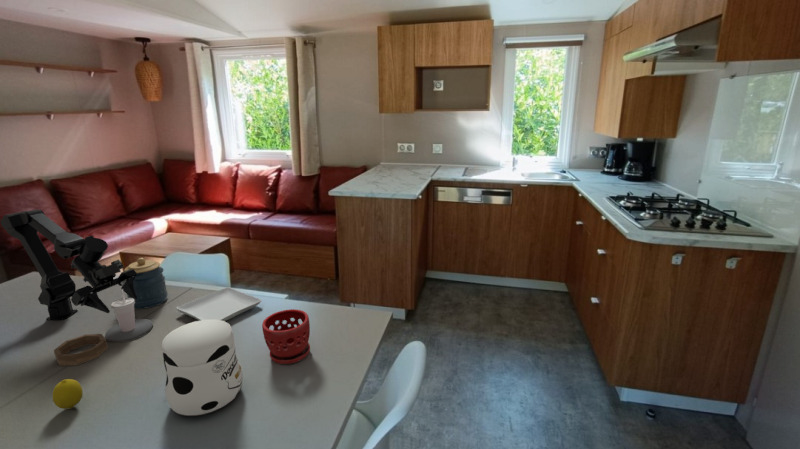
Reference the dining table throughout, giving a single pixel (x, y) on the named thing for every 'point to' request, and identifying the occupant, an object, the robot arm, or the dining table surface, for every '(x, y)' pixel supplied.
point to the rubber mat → (140, 329)
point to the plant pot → (287, 336)
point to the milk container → (201, 367)
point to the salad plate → (219, 305)
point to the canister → (148, 283)
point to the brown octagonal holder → (84, 355)
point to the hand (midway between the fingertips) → (122, 305)
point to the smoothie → (124, 312)
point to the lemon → (67, 393)
